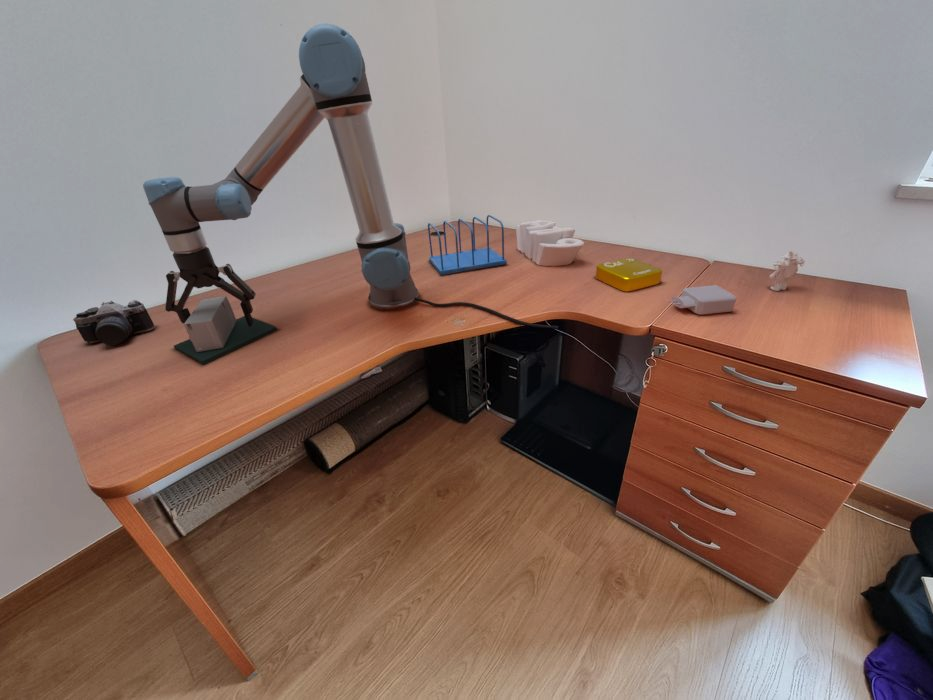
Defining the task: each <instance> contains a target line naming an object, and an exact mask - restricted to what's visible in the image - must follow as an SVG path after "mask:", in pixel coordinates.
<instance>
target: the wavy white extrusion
mask: <svg viewBox="0 0 933 700" xmlns="http://www.w3.org/2000/svg"><path fill="white" fill-rule="evenodd" d="M556 224H557V222H556V221H548V220H546V219H539V220H538V219H537V220H531V221H525V222H520V223H519V224H518V225H516V226H515V234H516V245H517V246H516V247H517V251H520V253H522V254H524V255H525V257H526V258H527V259H529V260H530V259H531V260H532V262H534V263H535V264H536V265H538V266H543V267H559V266H568V265H570V264H572V263H573V261H574V260H575V258H576V257H577V255H578V254H579V252H580V250H581V249H582V248H583V246H584V243H585V242H584V241H583V240H582V239H579V238H574V236H575V232H576V229H575V228H573V227H570V226H566V227H564V228H562V227H559V226H557V225H556Z"/></svg>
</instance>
